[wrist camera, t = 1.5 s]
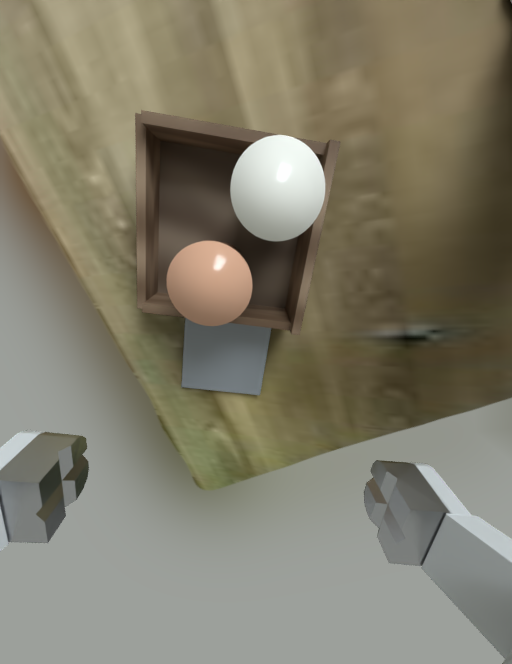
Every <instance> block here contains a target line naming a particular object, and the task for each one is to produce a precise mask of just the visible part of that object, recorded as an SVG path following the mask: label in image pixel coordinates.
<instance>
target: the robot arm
mask: <svg viewBox="0 0 512 664" xmlns="http://www.w3.org/2000/svg"><path fill="white" fill-rule="evenodd" d="M510 1H511V3H512V0H510ZM86 449H87V443H86V438H85V437H83V436H78V435H69V434H60V433H50V432H37V431H28V430H25V431H22V432H19V433H17V434H16V435H15V436H14V437H13V438H11V439H10V440H9V441H8V442H7V443H5V444H4V445H3V446H2V447H1V448H0V550H2V549H3V548H5V547H6V546H7V545H8V544H9V542H27V543H28V542H29V543H48V542H49V541H50V539H51V537H52V536H53V535H54V533H55V531H56V530H57V529H58V527H59V525H60V524H61V523H62V521H63V519H64V518H65V516H66V513H65V507H66V506H68V505H69V504H70V503H72V502H74V501H75V500H77V498H78V496H79V495H80V493H81V492H82V490H83V488H84V485H85V483H86V480H87V477H88V470H89V465H88V461H87V459H86V458H85V457H84V456H83V455H82V454H83V453H84V452H85V450H86ZM371 473H372V475H373V478H372V479H371V480H370V481H368V482H367V483H366V487H365V491H364V503H365V507H366V511H367V513H368V516H369V518H370V520H371V521H372V522H373V523H374V524H375V525H376V526H377V527H378V528H379V531H378V535H377V537H378V539H379V542H380V544H381V546H382V548H383V551H384V553H385V555H386V557H387V560H388V562H389V563H394V564H404V565H415V566H422V569H423V570H424V572H425V573H426V574H427V575H428V576H429V577H430V578H431V579H432V580H433V581H434V582H435V583H436V585H437V586H438V587H439V588H440V589H441V590H442V591H443V592H444V593H445V594H446V595H447V596H448V598H449V599H450V600H451V601H452V602H453V603H454V604H455V605H456V606H457V607H458V608H459V609H460V611H461V612H462V613H463V614H464V615H465V616H466V617H467V618H468V619H469V620H470V621H471V623H472V624H473V625H474V626H475V627H476V628H477V629H478V630H479V631H480V632H481V633H482V634H483V636H484V637H485V638H486V639H487V640H488V641H489V642H490V643H491V644H492V645H493V646H494V648H496V650H497V651H498V652H499V653H500V654H501V655H502V656H503V657H504V658H505V660H504V662H503V663H502V664H512V539H511V538H509V537H508V536H506V535H505V534H504V533H502V532H500V531H499V530H498V529H496V528H495V527H493V526H492V525H490V524H489V523H487V522H486V521H484V520H483V519H481V518H480V517H478V516H474V515H471V514H470V513H469V511H468V510H467V509H466V508H465V507H464V505H463V504H462V503H461V501H460V500H459V499H458V498H457V496H456V495H455V494H454V493H453V492H452V490H451V489H450V488H449V487H448V486H447V484H446V483H445V482H444V480H443V479H442V478H441V477H440V476H439V474H438V473H437V472H436V471H435V469H434V468H433V467H432V466H430V465H429V464H426V463H406V462H393V461H378V460H377V461H375V462H374V463H373V465H372V468H371Z"/></svg>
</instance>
